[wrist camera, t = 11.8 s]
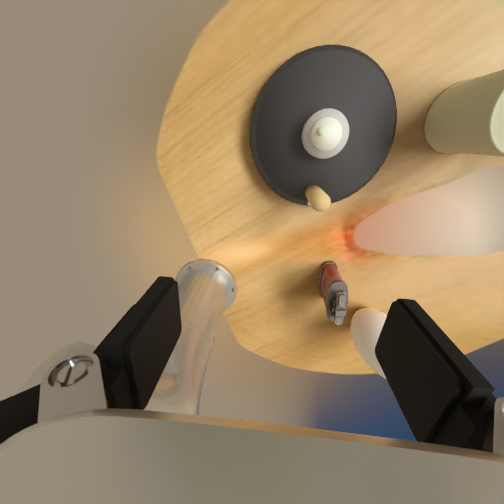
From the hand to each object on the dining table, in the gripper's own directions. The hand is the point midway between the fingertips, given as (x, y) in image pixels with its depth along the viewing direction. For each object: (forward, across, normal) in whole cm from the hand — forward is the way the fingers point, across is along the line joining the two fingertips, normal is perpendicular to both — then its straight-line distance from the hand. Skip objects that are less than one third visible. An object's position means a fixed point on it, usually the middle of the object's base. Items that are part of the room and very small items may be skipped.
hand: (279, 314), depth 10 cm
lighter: (+32, -12, +17) cm, 38 cm away
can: (+32, -25, -11) cm, 43 cm away
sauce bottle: (+32, -21, +24) cm, 45 cm away
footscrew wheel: (+31, -6, -8) cm, 33 cm away
